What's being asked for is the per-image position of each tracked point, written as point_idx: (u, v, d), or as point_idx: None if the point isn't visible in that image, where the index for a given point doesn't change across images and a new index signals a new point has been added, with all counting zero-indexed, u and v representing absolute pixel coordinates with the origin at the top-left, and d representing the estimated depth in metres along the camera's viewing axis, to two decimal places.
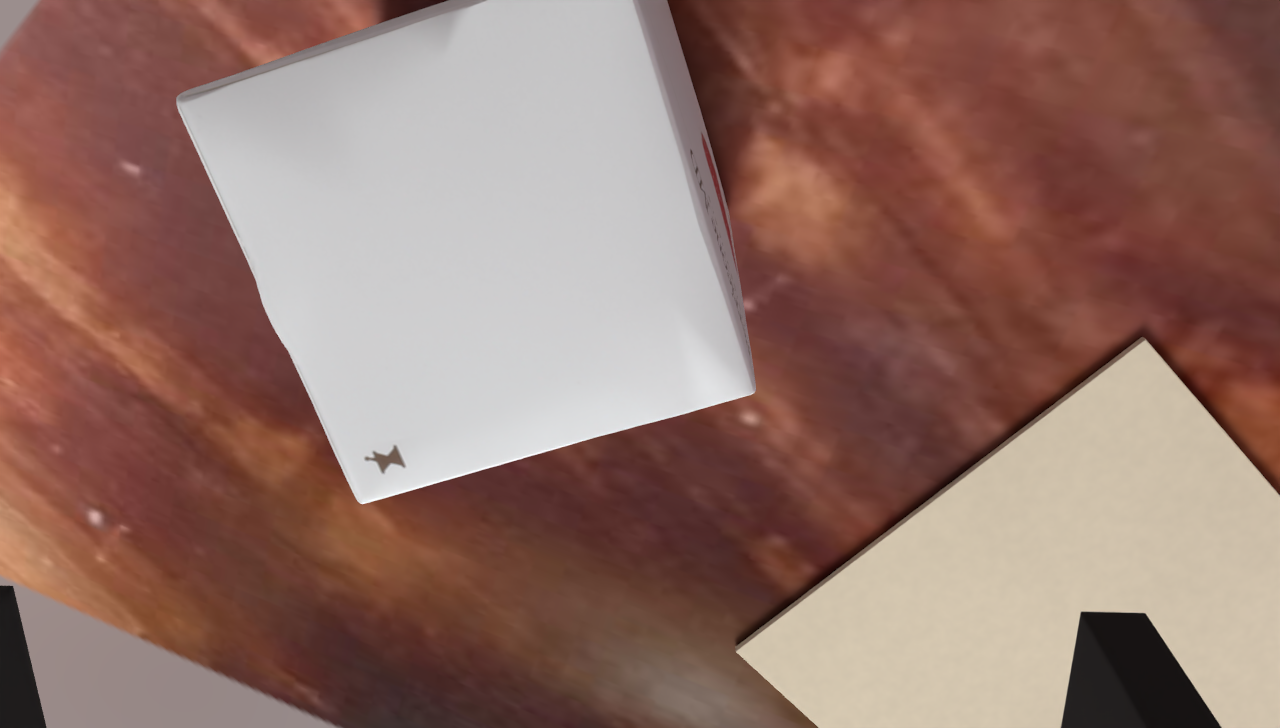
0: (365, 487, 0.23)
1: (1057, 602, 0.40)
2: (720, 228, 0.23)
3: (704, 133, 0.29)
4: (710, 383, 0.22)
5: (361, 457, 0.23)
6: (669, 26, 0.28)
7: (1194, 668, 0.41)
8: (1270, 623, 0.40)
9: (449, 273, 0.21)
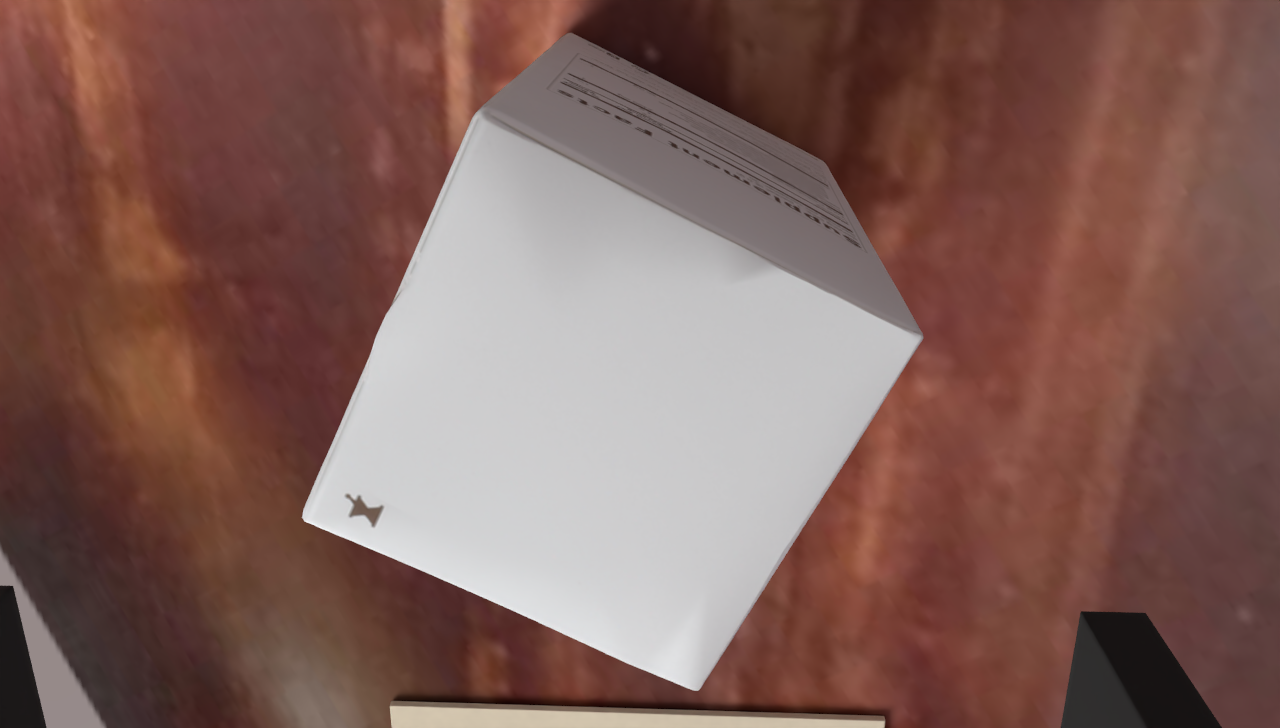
0: (322, 514, 0.21)
1: None
2: None
3: None
4: (675, 662, 0.22)
5: (344, 491, 0.21)
6: None
7: None
8: None
9: (565, 429, 0.20)
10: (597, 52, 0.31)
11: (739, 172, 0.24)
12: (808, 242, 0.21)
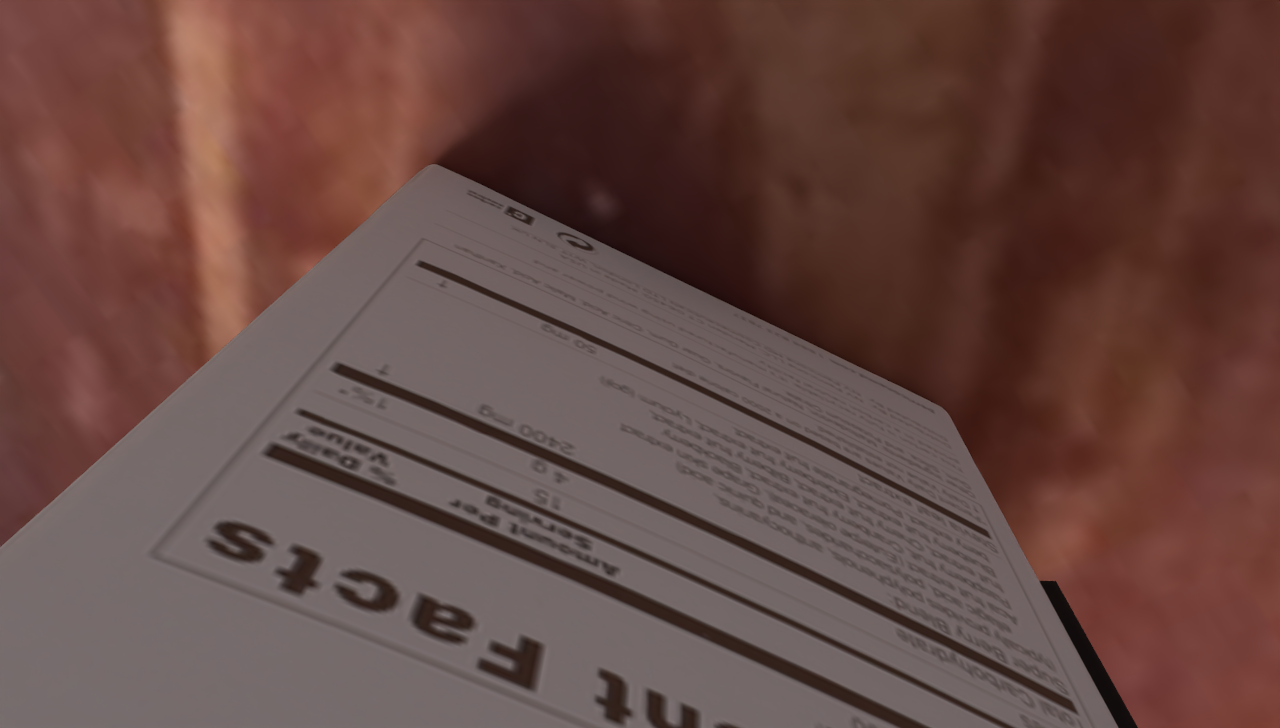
0: None
1: None
2: None
3: None
4: None
5: None
6: None
7: None
8: None
9: None
10: (482, 216, 0.15)
11: (823, 713, 0.08)
12: None
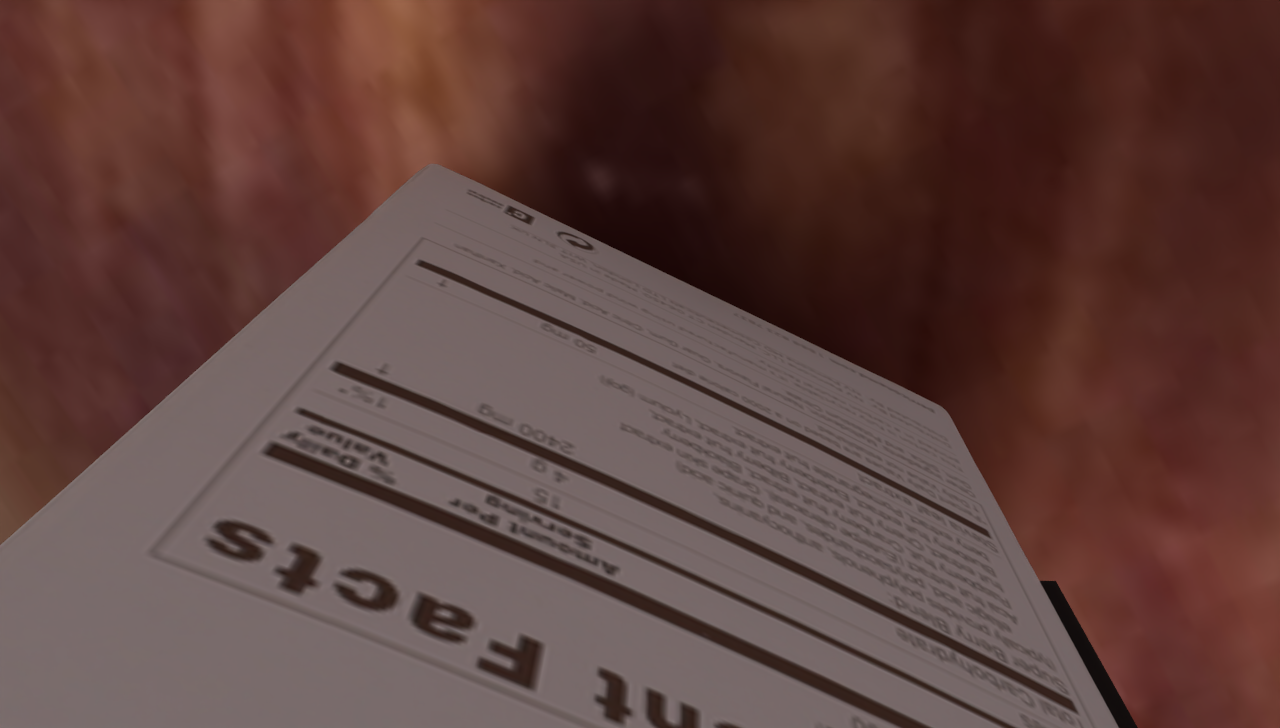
0: None
1: None
2: None
3: None
4: None
5: None
6: None
7: None
8: None
9: None
10: (482, 215, 0.15)
11: (822, 712, 0.08)
12: None
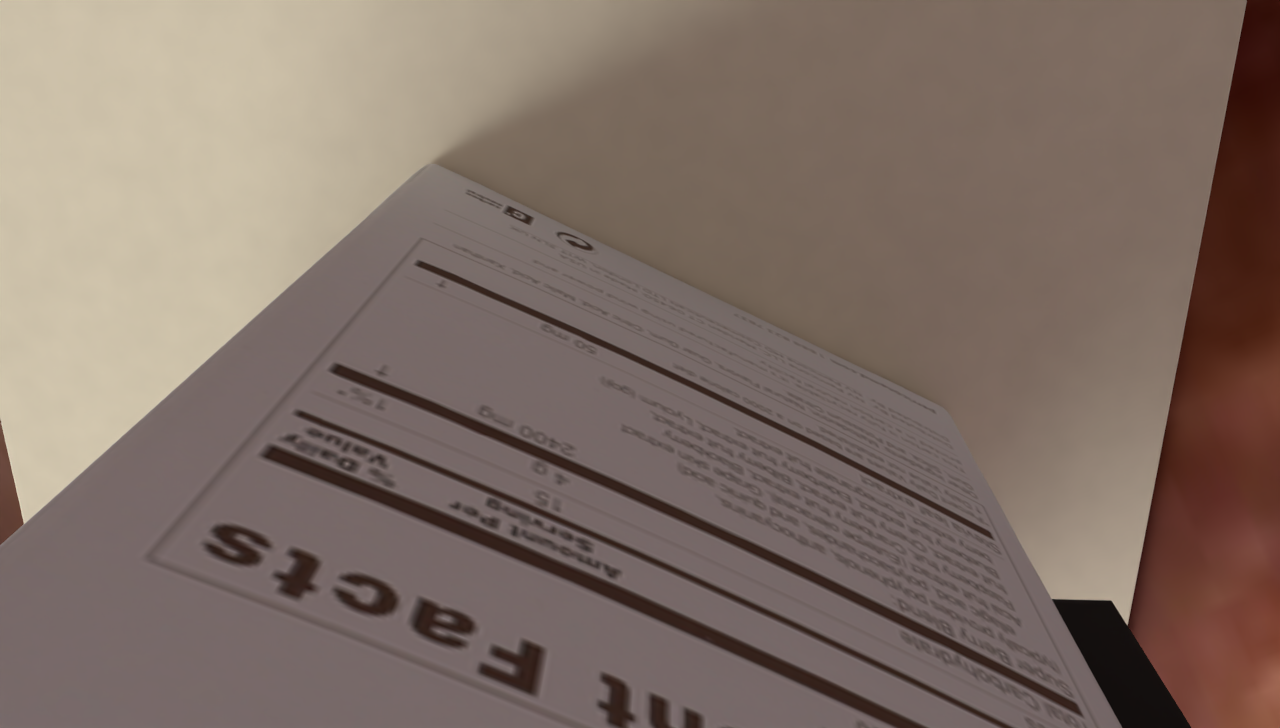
0: None
1: None
2: None
3: None
4: None
5: None
6: None
7: None
8: None
9: None
10: (480, 215, 0.14)
11: (827, 717, 0.08)
12: None
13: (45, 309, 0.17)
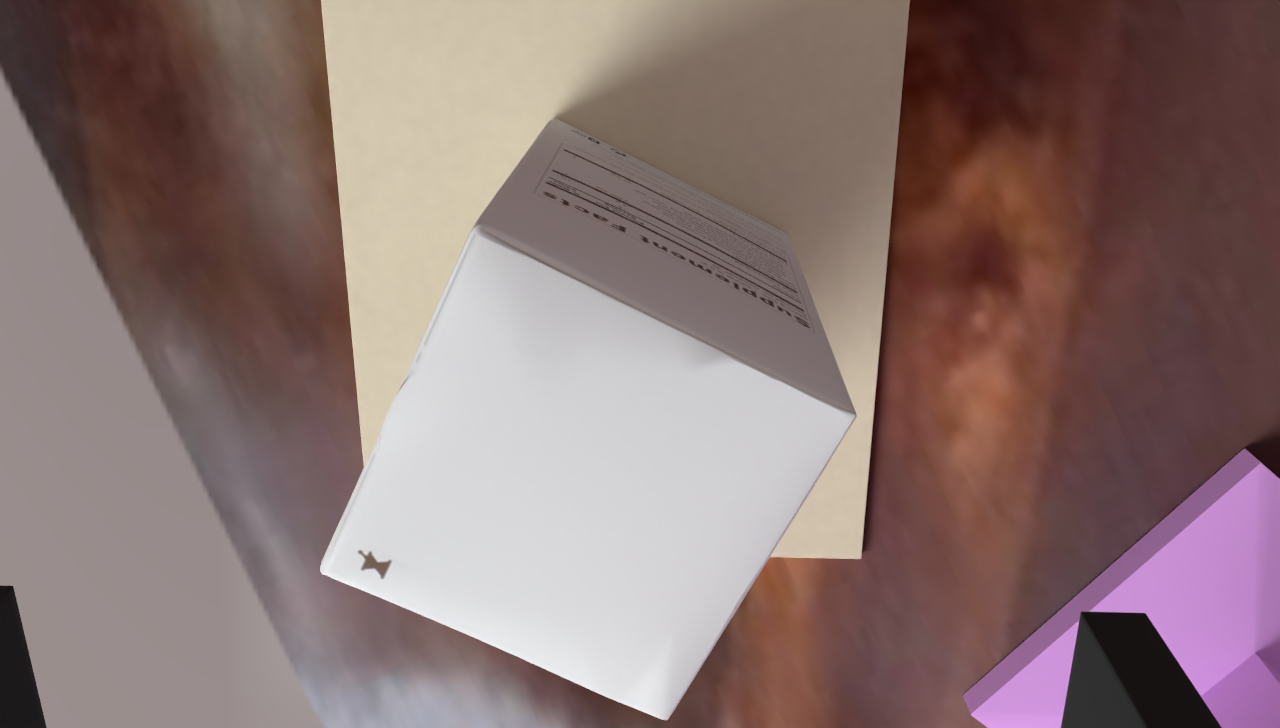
0: (338, 568, 0.24)
1: None
2: None
3: None
4: (646, 695, 0.25)
5: (357, 548, 0.24)
6: None
7: None
8: None
9: (550, 494, 0.23)
10: (579, 138, 0.34)
11: (703, 260, 0.27)
12: (760, 330, 0.24)
13: (371, 187, 0.37)
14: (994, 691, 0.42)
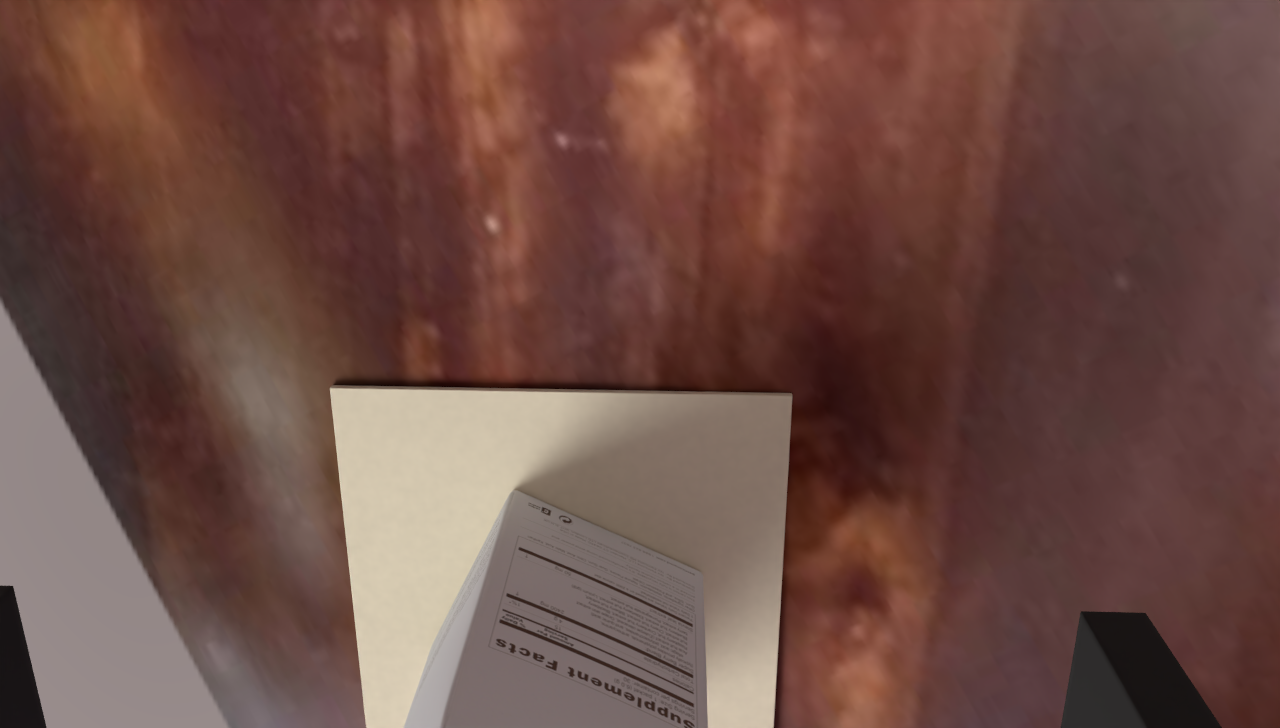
0: None
1: None
2: None
3: None
4: None
5: None
6: None
7: None
8: None
9: None
10: (534, 516, 0.44)
11: (617, 676, 0.37)
12: None
13: (371, 535, 0.46)
14: None
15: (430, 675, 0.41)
